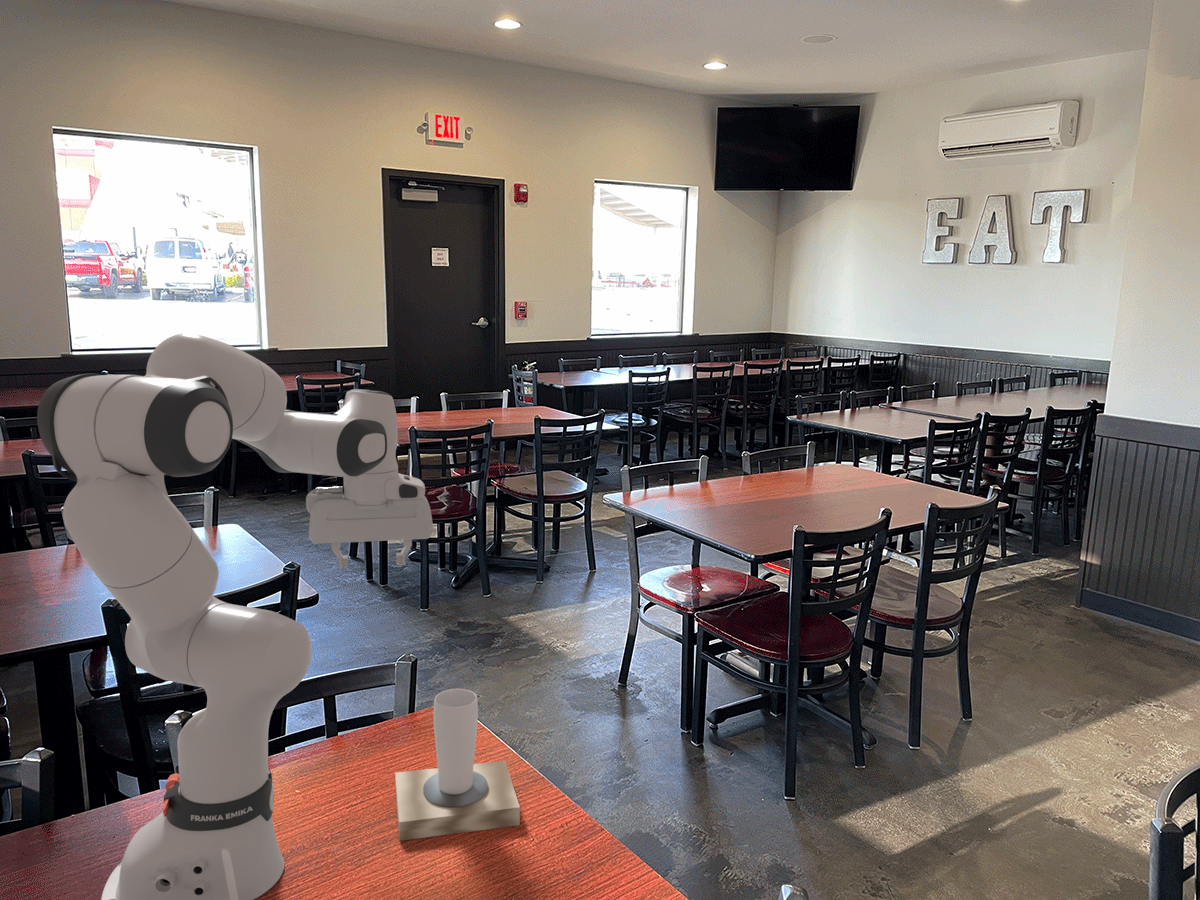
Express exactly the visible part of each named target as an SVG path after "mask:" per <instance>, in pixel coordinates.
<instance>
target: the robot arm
mask: <svg viewBox="0 0 1200 900" xmlns="http://www.w3.org/2000/svg"><path fill="white" fill-rule="evenodd" d="M394 401H395V400H394V398H393V396H392V395H390V394H389V393H388V392H384V391H380V390H371V389H359V388H357V389H356V388H355V389H354V388H353V389H350V390H348V391H346V393H345V397H344V403H343V405H342V407H341V408H340V409H338V410H337V411H336V412H333V414H330V413H317V412H315V413H314V412H304V411H298V410H291V409H287V403H288V396H287V388H286V385H285V382H284V380H283V378H281V376H280V375H279V374H278V373H277V372H276V371H275V370H274V369H273V368H272V367H270V366H269V365H267V364H266V363H265V362H263V361H261V359H258V358H256V357H255V356H253V355H252V354H249V353H247V352H245V351H244V350H241V349H239V348H237V347H236V346H233V345H230V344H228V343H226V342H223V341H221V340H217V339H215V338H211V337H208V336H204V335H200V334H196V333H191V332H190V333H187V332H186V333H179V334H175V335H172V336H170V337H167V338H166V339H164V340H163V341H162V342H160V343H159V344H158V345H157V346H156V347H155V348H154V350H153V351H152V353H151V354H150V356H149V358H148V361H147V365H146V372H145V375H139V374H103V375H101V374H98V373H83V374H77V375H73V376H68V377H66V378H63V379H60V380H58V381H56V382H54V383H53V384H51V385H50V386H49V387H48V388H47V389H46V391H45V392H44V393H43V394H42V397H41V398H40V400H39V403H38V407H37V415H36V419H37V428H38V433H39V436H40V440H41V442H42V444H43V446H44V448H45V449H46V451H47V452H48V454H49V455H50V456H51V458H52V464H53V467H54V470H55V471H56V472H57V473H58V474H60V475H61V476H62V477H64V478H66V479H68V480H69V481H73V482H76V484H75V486H74V487H73V488H72V489H71V491H70V492H69V493H68V495H67V497H66V499H65V501H64V504H63V509H62V517H63V518H62V519H63V521H64V525H65V527H66V529H67V531H68V532H69V535H70V538H71V539H72V541H73V543H74V544H75V546H76V548H77V550H78V551H79V552H78V553H80V556H81V557H82V559H84V561H85V563H86V565H88V567H89V568H90V570H91V571H92V572H93V573H94V575H95V576H96V577H97V578H98V580H99V581H100V582H101V583H102V585H104V586H105V588H106V590H108V592H110V594H111V595H112V596H113V597H114V599H116V601H117V602H118V603H119V604H120V605H121V607H122V608H123V610H125V612H126V613H127V615H128V616H129V618H130V621H129V622H128V625H127V628H126V632H125V637H124V647H125V652H126V656H127V658H128V659H129V661H130V662H131V664H133V665H134V666H135V667H137V668H138V669H140V670H143V672H146V673H148V674H151V675H152V676H154V677H156V678H159V679H161V680H164V681H167V682H174V683H179V684H184V685H188V686H194V687H197V688H203V690H204V691H205V694H206V698H207V701H206V707H205V708H204V709H203V710H201V711H199V712H198V713H196V714H194V715H193V716H192V717H191V718H189V719H188V720H187V721H186V723H185V724H184V726H183V727H182V728H181V730H180V732H179V734H178V736H177V740H176V741H177V743H176V744H177V745H176V747H177V762H178V763H177V764H178V773H176V772H175V773H172V774H170V775H168V776H169V777H168V778H167V780H166V783H165V786H164V789H165V793H164V794H163V795H164V796H163V805H162V812H161V813H159V815H157V816H155V818H152V819H151V820H150V821H149V822H147V823H146V824H144V825H143V826H142V827H140V829H139V830H138V831H136V832H135V834H134V835H133V837H132V838H131V839H130V841H129V843H128V845H127V847H126V849H125V851H124V854H123V856H122V860H121V862H120V863H119V864H117V865H116V867H115V868H114V870H113V871H112V872H111V874H109V877H108V878H107V880H106V881H105V882H106V883H105V885H104V887H103V890H102V894H101V897H100V900H255V899H257V898H259V897H261V896H262V895H263V894H266V892H268V891H269V890H270V889H271V888H272V887H274V886H275V885H276V883H277V882H278V881H279V880H280V878H282V877H281V876H282V875H283V873H284V870H285V858H284V857H283V855H282V853H281V849H280V847H279V844H278V841H277V836H276V830H275V827H274V821H273V813H274V809H275V804H274V803H275V802H274V801H275V797H274V796H275V794H274V791H275V790H274V782H273V775H272V771H271V769H270V768H269V728H270V727H269V726H270V721H271V717H272V715H273V711H274V709H275V707H276V706H277V704H278V702H279V701H280V700H281V699H282V698H283V697H284V696H286V695H287V694H289V693H290V692H292V691H293V690H294V689H295V688H296V687H297V686H299V684H300V683H301V682H302V681H303V679H304V677H305V675H306V674H307V672H308V671H309V668H310V665H311V660H312V654H313V649H312V648H313V647H312V641H311V637H310V635H309V634H310V633H309V632H308V630H307V628H306V627H305V625H304V624H302V623H300V622H298V621H296V620H294V619H292V618H290V617H288V616H286V615H283V614H280V613H279V612H276V611H272V610H268V609H261V608H257V607H256V608H255V607H252V606H251V607H250V606H246V605H245V606H244V605H239V604H234V603H233V604H232V603H229V602H226V601H223V600H220V599H218V598H217V597H215V595H214V594H215V593H216V590H217V585H218V582H219V576H220V574H219V573H220V571H219V566H218V563H217V562H216V560H215V558H214V557H213V556H212V555H211V552H210V551H209V550H208V549H207V547H206V546H205V545H204V544H203V541H202V540H201V539H200V537H199V536H198V534H197V533H196V532H195V530H194V529H193V527H192V526H191V524H190V523H189V522H188V520H187V519H186V517H185V516H184V515H183V513H182V512H181V511H180V510H179V509H178V508H177V506H176V505H175V504H174V503H173V502H172V501H171V498H170V495H169V494H168V491H167V488H166V484H165V475H166V476H169V477H173V478H181V477H182V478H184V477H185V478H186V477H192V476H200V475H202V474H207V473H208V472H211V471H212V470H214V469H216V467H217V466H218V465H219V464H220V463H221V461H222V460H223V459H224V457H225V455H227V453H228V451H229V449H230V448H231V447H230V446H231V444H232V441H233V440H236V441H238V442H239V443H241V444H244V445H246V446H247V447H249V448H251V449H253V450H254V451H255V452H256V453H257V454H258V456H260V458H261V459H262V461H264V463H265V464H266V465H267V466H268V467H269V468H270V469H271V470H273V471H275V472H277V473H283V474H284V473H285V474H287V473H288V474H289V473H291V474H292V473H293V474H295V473H296V474H297V473H298V474H299V473H300V474H310V475H317V476H319V475H321V476H330V477H341V478H343V486H332V487H331V486H330V487H324V486H318V487H315V489H312V490H310V491H309V492H308V493H307V494H306V496H305V508H306V510H307V512H308V513H309V514H310V517H309V525H308V540H310V541H311V542H312V543H313V544H317V545H319V544H331V551H332V552H333V553H334V555H335V557H336V558H337V559H338V568H339V569H344V568H345V569H346V568H349V560H348V559H349V558H348V555H347V554H343V553H342V552H341V544H342V543H363V542H364V543H365V542H383V541H385V542H386V541H387V542H388V541H402V543H403V548H402V549H401V552H396V554H395V557H396V559H395V562H396V566H405V565H406V556H407V555H408V553H409V551H410V550H411V549H412V546H413V540H427V539H428V540H429V538H430V537H431V536H432V535H433V534H434V526H433V525H434V524H433V517H432V510H431V506H430V503H429V501H428V499H427V497H426V496H425V495H426V486H425V483H424V482H423V481H422V480H421V479H420V478H418V477H413V476H411V475H406V474H402V473H399V464H398V460H397V457H396V454H397V453H396V452H397V451H396V450H397V447H398V442H399V435H398V434H399V433H398V432H399V431H398V417H397V411H396V406H395V402H394ZM62 469H63V470H65V471H66V472H65V471H63V470H62Z"/></svg>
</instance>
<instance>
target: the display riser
mask: <svg viewBox="0 0 1200 900" xmlns="http://www.w3.org/2000/svg"><path fill="white" fill-rule="evenodd" d="M509 771H510V770H509V768H508V765H507V761H506V760H499V761H489V762H480V763H474V766H473V784H472V787H471V788H470V789H469V790H468V791H467V792H465V793H462V794H457V795H451V794H446V793H444V792H442V791H441V790H440V788H439V785H438V767H435V768H427V769H417V770H407V771H399V772H398V771H397V772H394V775H395V776H394V777H395V779H394V784H395V785H394V787H395V788H394V789H395V802H396V814H397V825H398V827H397V828H398V841H399V842H400V841H407V840H408V841H409V840H417V839H423V838H429V837H430V838H431V837H438V836H439V837H440V836H445V835H446V836H447V835H454V834H455V835H456V834H461V833H471V832H478V831H485V830H493V829H501V828H508V827H516V826H521V824H520V823H521V822H520V821H521V806H520V804H519V803H520V802H519V799H518V797H517V794H516V791H515V787H514V784H513V781H512V778H511V775H510V772H509Z"/></svg>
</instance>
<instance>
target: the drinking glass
mask: <svg viewBox="0 0 1200 900" xmlns="http://www.w3.org/2000/svg"><path fill="white" fill-rule="evenodd" d="M478 701H479V700H478V695H477V694H476V693H475V692H474V691H472V690H469V689H466V688H450V689H446V690H442V691H441V692H439V693H437V694H436V695H435V696H434V699H433V731H434V734H433V735H434V742H435V753H436V763H437V764H436V765H437V768H438V785H439V788H440V790H441V791H442V792H444V793H446V794H451V795H457V794H462V793H465V792H467V791H468V790H469V789H470V788H471V787H472V784H473V766H474V764H475V754H476V744H477V731H478V725H479V723H478V721H479V720H478V719H479V717H478V716H479V706H478V704H479V702H478Z"/></svg>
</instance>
